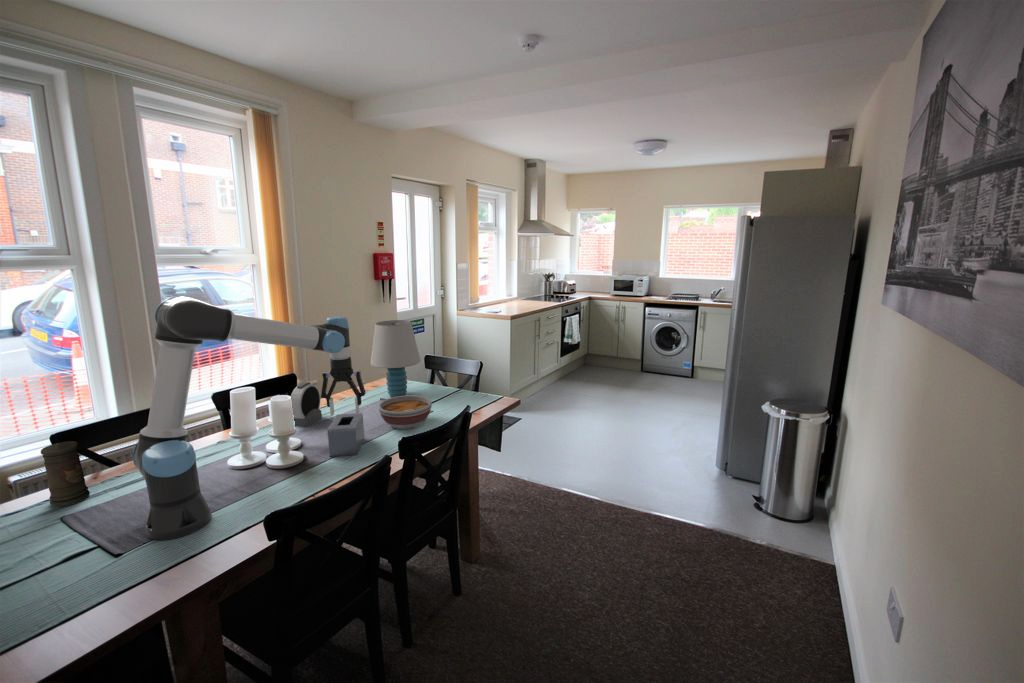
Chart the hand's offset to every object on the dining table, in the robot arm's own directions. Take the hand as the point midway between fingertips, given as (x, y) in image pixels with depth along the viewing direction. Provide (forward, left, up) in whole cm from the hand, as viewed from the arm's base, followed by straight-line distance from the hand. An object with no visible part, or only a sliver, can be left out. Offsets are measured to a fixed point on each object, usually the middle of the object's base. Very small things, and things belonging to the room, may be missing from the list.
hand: (345, 413), depth 181 cm
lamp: (+64, -13, -14) cm, 67 cm away
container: (-27, +79, -14) cm, 85 cm away
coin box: (0, 0, -14) cm, 14 cm away
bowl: (+21, -21, -14) cm, 33 cm away
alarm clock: (+32, +24, -14) cm, 42 cm away
